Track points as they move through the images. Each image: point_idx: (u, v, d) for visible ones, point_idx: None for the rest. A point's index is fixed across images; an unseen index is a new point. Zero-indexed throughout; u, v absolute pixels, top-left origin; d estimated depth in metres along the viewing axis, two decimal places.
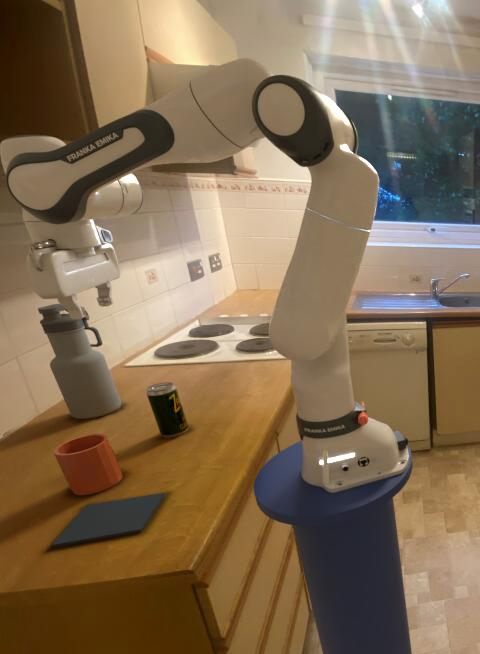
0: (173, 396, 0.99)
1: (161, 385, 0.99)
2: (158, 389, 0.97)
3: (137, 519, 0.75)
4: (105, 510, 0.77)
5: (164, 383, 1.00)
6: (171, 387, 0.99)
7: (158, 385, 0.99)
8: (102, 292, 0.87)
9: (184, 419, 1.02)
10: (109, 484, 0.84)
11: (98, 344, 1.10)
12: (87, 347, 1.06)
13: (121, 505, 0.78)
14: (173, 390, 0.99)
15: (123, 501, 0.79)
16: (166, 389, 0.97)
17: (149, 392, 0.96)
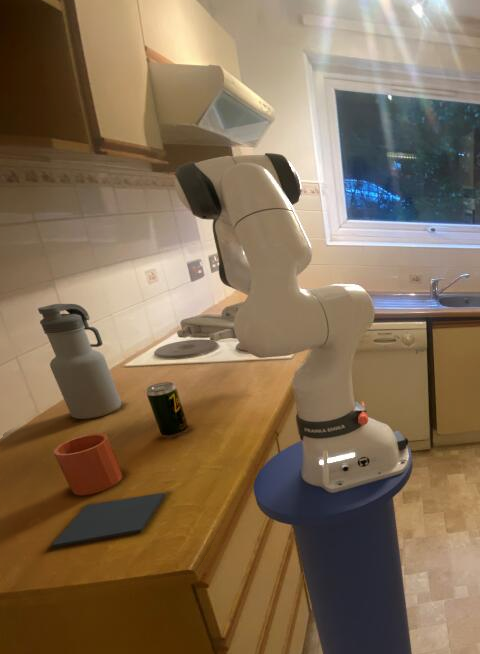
0: (173, 396, 0.99)
1: (161, 385, 0.99)
2: (158, 389, 0.97)
3: (137, 519, 0.75)
4: (105, 510, 0.77)
5: (164, 383, 1.00)
6: (171, 387, 0.99)
7: (158, 385, 0.99)
8: None
9: (184, 419, 1.02)
10: (109, 484, 0.84)
11: (98, 344, 1.10)
12: (87, 347, 1.06)
13: (121, 505, 0.78)
14: (173, 390, 0.99)
15: (123, 501, 0.79)
16: (166, 389, 0.97)
17: (149, 392, 0.96)
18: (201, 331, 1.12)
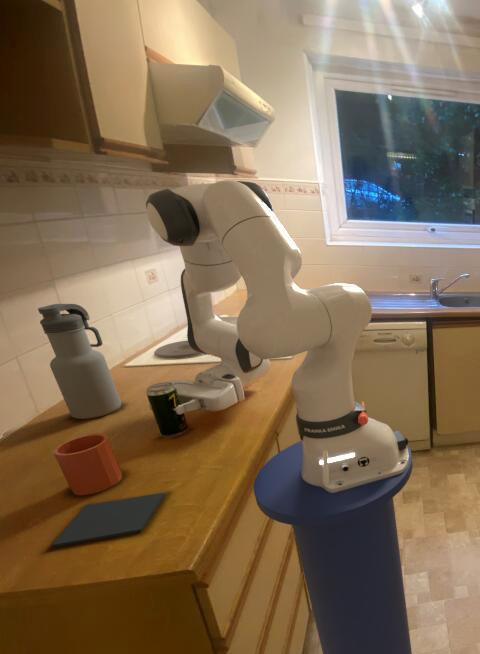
0: (173, 396, 0.99)
1: (161, 385, 0.99)
2: (158, 389, 0.97)
3: (137, 519, 0.75)
4: (105, 510, 0.77)
5: (164, 383, 1.00)
6: (171, 387, 0.99)
7: (158, 385, 0.99)
8: None
9: (184, 419, 1.02)
10: (109, 484, 0.84)
11: (98, 344, 1.10)
12: (87, 347, 1.06)
13: (121, 505, 0.78)
14: (173, 390, 0.99)
15: (123, 501, 0.79)
16: (166, 389, 0.97)
17: (149, 392, 0.96)
18: None
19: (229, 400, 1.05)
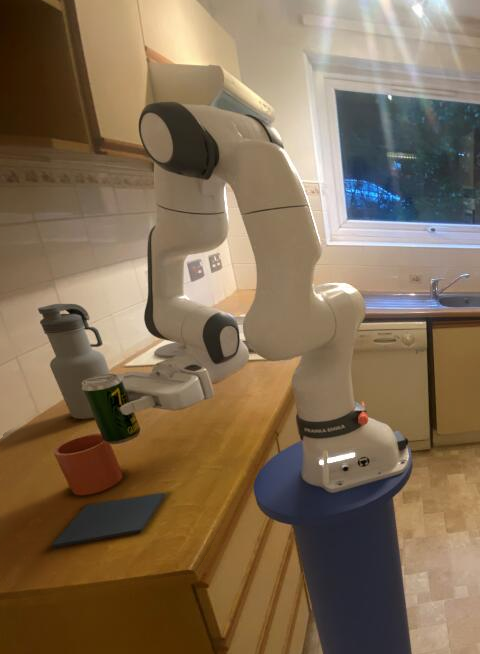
0: (117, 392, 0.78)
1: (102, 378, 0.78)
2: (97, 382, 0.76)
3: (137, 519, 0.75)
4: (105, 510, 0.77)
5: (107, 375, 0.79)
6: (114, 380, 0.77)
7: (98, 378, 0.78)
8: None
9: (134, 421, 0.81)
10: (109, 484, 0.84)
11: (98, 344, 1.10)
12: (87, 347, 1.06)
13: (121, 505, 0.78)
14: (117, 384, 0.77)
15: (123, 501, 0.79)
16: (107, 382, 0.76)
17: (85, 386, 0.75)
18: None
19: (192, 397, 0.84)
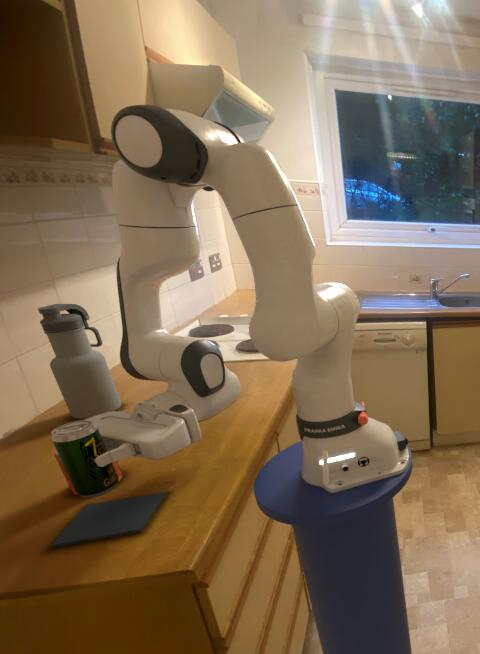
0: (92, 442, 0.69)
1: (75, 425, 0.69)
2: (68, 432, 0.67)
3: (137, 519, 0.75)
4: (105, 510, 0.77)
5: (80, 422, 0.70)
6: (89, 429, 0.69)
7: (71, 425, 0.69)
8: None
9: (111, 471, 0.73)
10: None
11: (98, 344, 1.10)
12: (87, 347, 1.06)
13: (121, 505, 0.78)
14: (92, 433, 0.69)
15: (123, 501, 0.79)
16: (80, 432, 0.68)
17: (54, 437, 0.67)
18: None
19: (177, 444, 0.76)
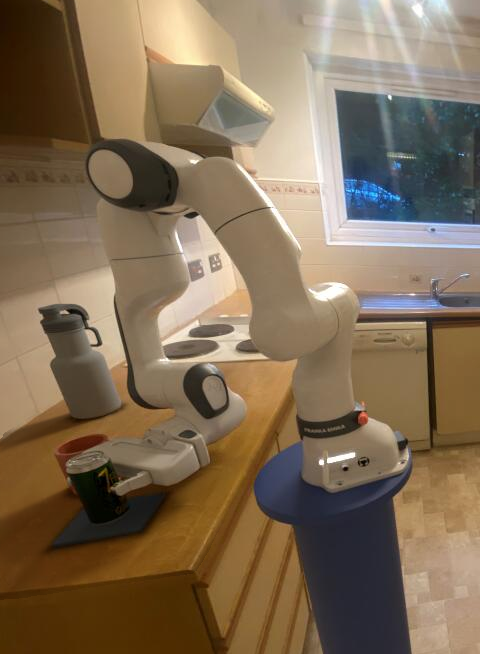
0: (105, 472, 0.72)
1: (88, 456, 0.72)
2: (82, 464, 0.70)
3: (137, 519, 0.75)
4: None
5: (93, 452, 0.73)
6: (102, 459, 0.71)
7: (84, 456, 0.72)
8: None
9: (123, 499, 0.75)
10: None
11: (98, 344, 1.10)
12: (87, 347, 1.06)
13: None
14: (104, 463, 0.72)
15: None
16: (94, 463, 0.70)
17: (69, 468, 0.69)
18: None
19: (186, 469, 0.78)
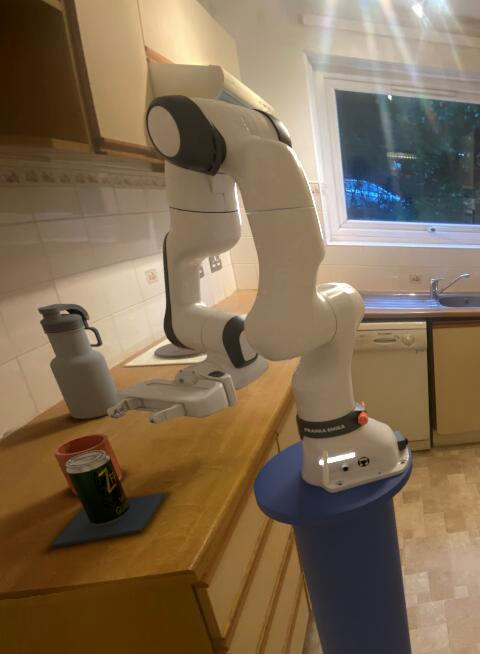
0: (105, 472, 0.72)
1: (88, 456, 0.72)
2: (82, 464, 0.70)
3: (137, 519, 0.75)
4: None
5: (93, 452, 0.73)
6: (102, 459, 0.71)
7: (84, 456, 0.72)
8: None
9: (123, 499, 0.75)
10: None
11: (98, 344, 1.10)
12: (87, 347, 1.06)
13: None
14: (104, 463, 0.72)
15: None
16: (94, 463, 0.70)
17: (69, 468, 0.69)
18: (144, 405, 0.83)
19: (217, 404, 0.82)
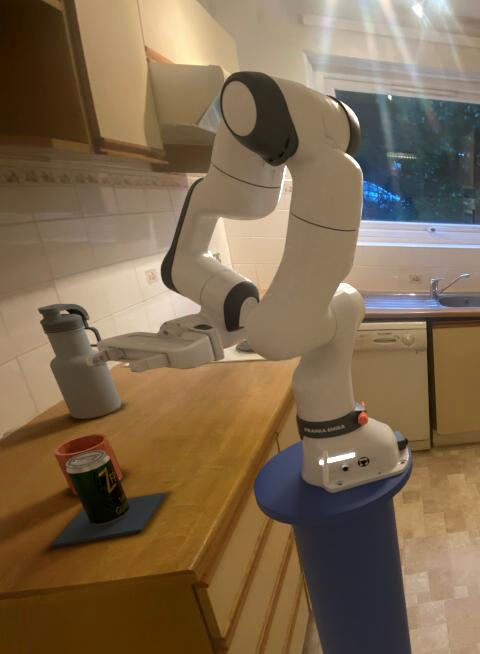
0: (105, 472, 0.72)
1: (88, 456, 0.72)
2: (82, 464, 0.70)
3: (137, 519, 0.75)
4: None
5: (93, 452, 0.73)
6: (102, 459, 0.71)
7: (84, 456, 0.72)
8: None
9: (123, 499, 0.75)
10: None
11: None
12: (87, 347, 1.06)
13: None
14: (104, 463, 0.72)
15: None
16: (94, 463, 0.70)
17: (69, 468, 0.69)
18: (126, 356, 0.79)
19: (202, 357, 0.79)
